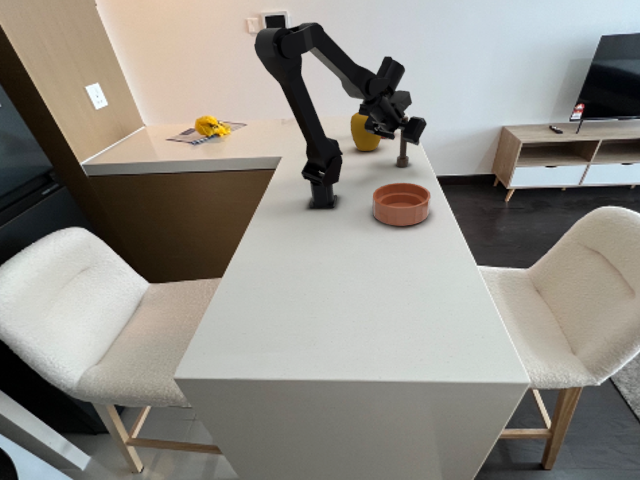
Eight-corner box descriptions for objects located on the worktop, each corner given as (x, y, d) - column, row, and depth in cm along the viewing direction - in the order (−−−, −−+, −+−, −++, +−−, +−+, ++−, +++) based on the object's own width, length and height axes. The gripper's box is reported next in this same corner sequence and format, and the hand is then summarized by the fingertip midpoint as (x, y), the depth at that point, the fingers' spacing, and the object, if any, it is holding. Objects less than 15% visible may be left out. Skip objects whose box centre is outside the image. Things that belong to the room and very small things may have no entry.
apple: (359, 157, 113) (358, 116, 105) (346, 148, 121) (344, 109, 113) (388, 151, 116) (389, 110, 108) (374, 142, 124) (373, 104, 116)
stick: (408, 167, 104) (411, 118, 95) (396, 167, 104) (398, 119, 96) (408, 162, 107) (410, 115, 98) (396, 163, 107) (398, 115, 98)
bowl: (430, 228, 76) (432, 207, 73) (371, 227, 78) (371, 208, 75) (426, 200, 86) (428, 182, 83) (374, 201, 88) (374, 183, 85)
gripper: (425, 84, 83) (446, 120, 95) (370, 78, 94) (394, 112, 106) (403, 126, 84) (426, 157, 96) (351, 115, 95) (377, 144, 108)
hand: (405, 141), depth 102 cm, fingers open, 9 cm apart
